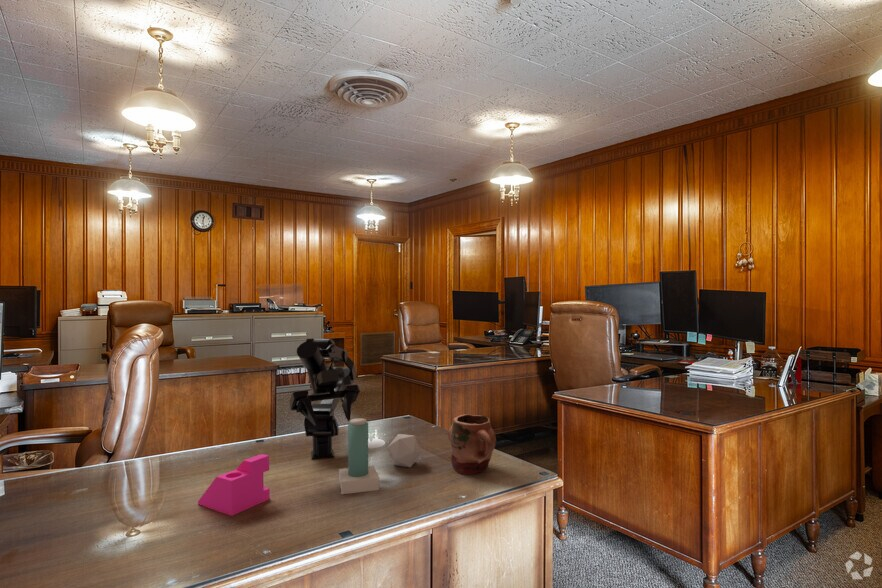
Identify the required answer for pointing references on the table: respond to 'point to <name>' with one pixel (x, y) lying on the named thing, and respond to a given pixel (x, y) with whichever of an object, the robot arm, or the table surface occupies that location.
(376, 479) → the block
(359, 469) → the thermos
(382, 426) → the table surface
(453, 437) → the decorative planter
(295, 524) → the table surface
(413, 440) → the die
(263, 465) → the bracket
